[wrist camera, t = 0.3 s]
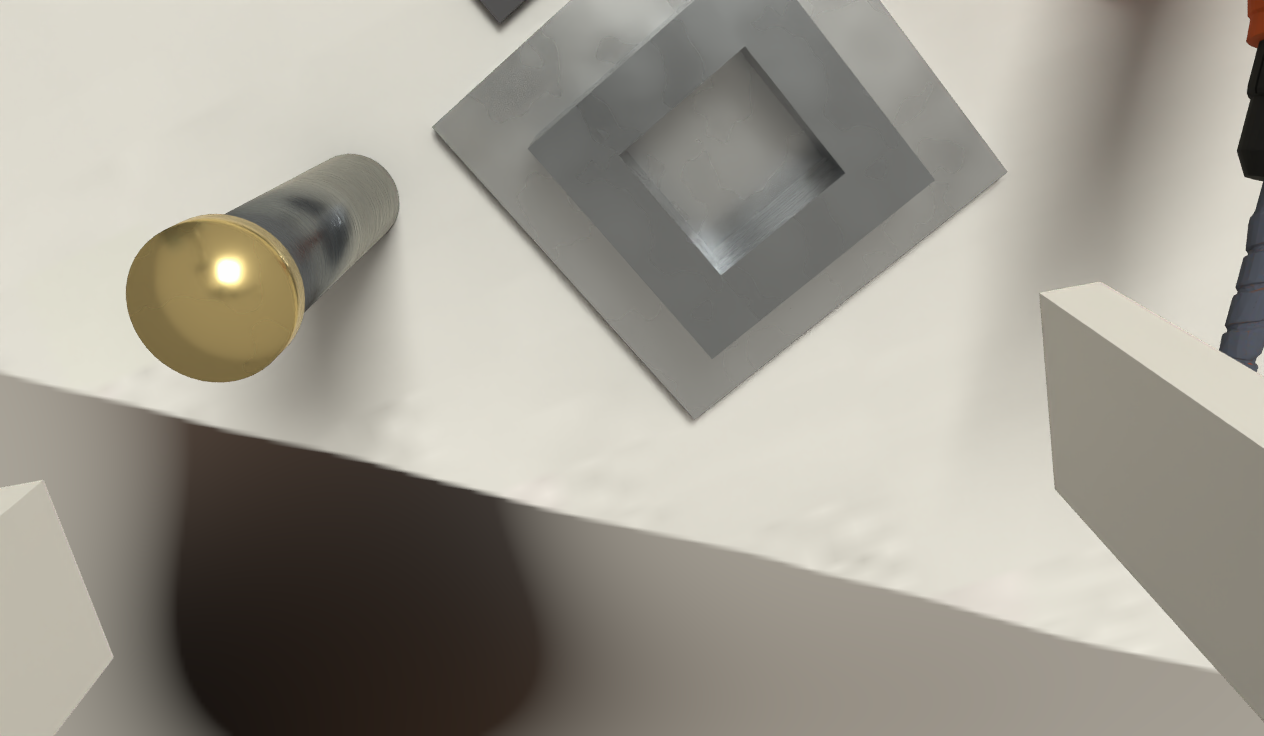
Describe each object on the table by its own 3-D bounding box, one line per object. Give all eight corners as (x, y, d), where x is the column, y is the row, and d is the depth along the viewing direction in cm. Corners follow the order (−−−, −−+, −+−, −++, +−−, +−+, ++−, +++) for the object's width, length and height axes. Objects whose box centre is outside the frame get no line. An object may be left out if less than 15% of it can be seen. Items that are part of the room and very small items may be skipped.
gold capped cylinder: (276, 193, 39) (91, 295, 25) (353, 122, 38) (205, 186, 25) (353, 273, 40) (214, 413, 26) (430, 205, 39) (327, 312, 26)
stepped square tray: (435, 124, 38) (412, 139, 34) (751, -165, 36) (769, -188, 31) (693, 412, 42) (701, 458, 37) (999, 168, 39) (1046, 188, 35)
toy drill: (972, 303, 39) (1199, 394, 24) (1105, -271, 36) (1464, -571, 21) (1105, 326, 39) (1409, 429, 25) (1250, -241, 36) (1703, -516, 21)
